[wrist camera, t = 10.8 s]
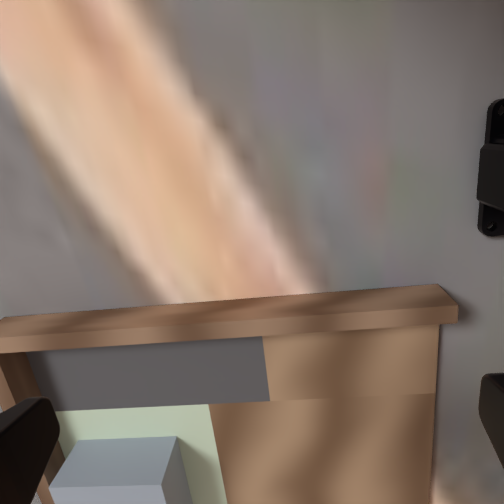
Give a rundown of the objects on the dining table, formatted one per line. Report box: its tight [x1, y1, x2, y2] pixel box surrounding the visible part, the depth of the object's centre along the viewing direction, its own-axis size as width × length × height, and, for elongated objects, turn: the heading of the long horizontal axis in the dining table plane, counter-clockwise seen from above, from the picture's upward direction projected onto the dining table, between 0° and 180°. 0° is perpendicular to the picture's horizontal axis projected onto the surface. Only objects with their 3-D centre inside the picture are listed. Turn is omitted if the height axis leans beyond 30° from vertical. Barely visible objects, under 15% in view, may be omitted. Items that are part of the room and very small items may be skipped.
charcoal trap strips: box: [26, 336, 270, 412], centre depth 26 cm, size 15×24×1 cm, turn 7°
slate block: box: [49, 436, 193, 504], centre depth 24 cm, size 7×7×4 cm
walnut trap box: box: [0, 284, 459, 504], centre depth 25 cm, size 26×26×2 cm
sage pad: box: [55, 404, 227, 504], centre depth 26 cm, size 11×12×1 cm
